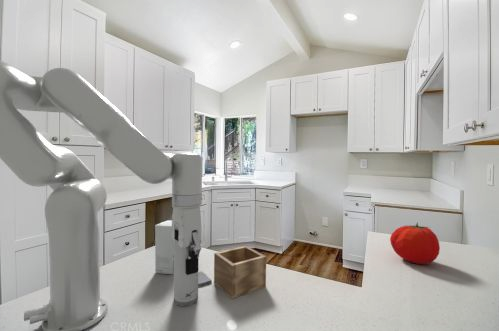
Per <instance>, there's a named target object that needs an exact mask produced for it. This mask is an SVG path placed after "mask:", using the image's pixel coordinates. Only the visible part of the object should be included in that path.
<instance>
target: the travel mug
mask: <svg viewBox="0 0 499 331" xmlns="http://www.w3.org/2000/svg"><path fill="white" fill-rule="evenodd" d="M174 235H175V236H174V273H173V303H174V304H175V305H177V306H178V307H179V306H180V307H189V306H191V305H194V304H195V303H196V302H197V301H198V298H199V287H198V272H199V271H198V272H197V273H193V274H189V275H186V259H187V253H186V248H185V249H183V248H181V247H180V246H179V244H178V243H179V241H178V235H179V234H178V230H176V229H175V233H174ZM191 245H193V242H190V244H189V246H191ZM192 250H194V248H190V253H191V251H192ZM199 258H200V257H199ZM199 258H198V260H199Z"/></svg>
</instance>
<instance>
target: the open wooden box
mask: <svg viewBox="0 0 499 331" xmlns="http://www.w3.org/2000/svg"><path fill="white" fill-rule="evenodd" d="M213 254H214V257H213V258H214V260H213V261H214V265H213V271H214V272H213V284H215V285H216V286H217V287H218V288H219V289H220V290H221V291H223V292H224V293H225V294H226V295H227V296H228V297H229V298H231V299H235V298H238V297H241V296H244V295H247V294H250V293H253V292H255V291H259V290H261V289H264V288H266V287H267V284H266V283H267V282H266V281H267V255H264V254H262V253H261V252H259V251H257V250H255V249H253V248H252V247H249V246H247V245H243V246H239V247H235V248H230V249H227V250H220V251H217V252H214V253H213Z"/></svg>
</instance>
